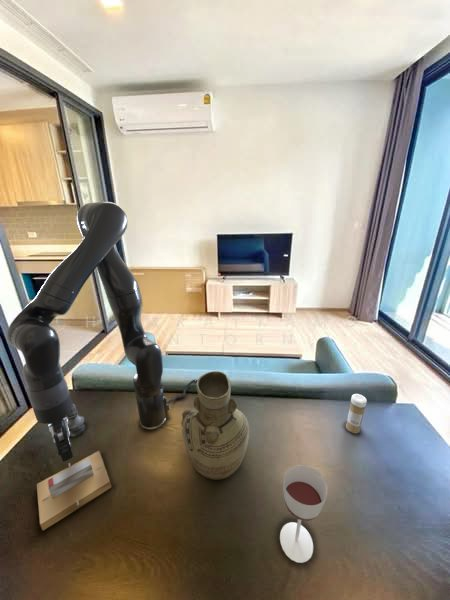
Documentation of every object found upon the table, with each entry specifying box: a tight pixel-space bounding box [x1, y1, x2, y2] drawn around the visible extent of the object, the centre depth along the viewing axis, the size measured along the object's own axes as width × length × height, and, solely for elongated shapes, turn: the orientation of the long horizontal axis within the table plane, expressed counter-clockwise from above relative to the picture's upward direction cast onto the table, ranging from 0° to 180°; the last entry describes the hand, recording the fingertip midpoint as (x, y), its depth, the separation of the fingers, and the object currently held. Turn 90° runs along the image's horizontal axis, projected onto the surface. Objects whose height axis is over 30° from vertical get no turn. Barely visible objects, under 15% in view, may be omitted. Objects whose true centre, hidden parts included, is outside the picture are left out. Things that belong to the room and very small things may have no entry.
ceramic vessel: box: [181, 370, 250, 481], centre depth 73 cm, size 19×21×30 cm
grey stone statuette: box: [66, 403, 86, 437], centre depth 86 cm, size 6×6×12 cm
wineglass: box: [279, 464, 328, 564], centre depth 55 cm, size 8×9×20 cm
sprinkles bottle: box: [345, 393, 368, 434], centre depth 85 cm, size 5×5×13 cm
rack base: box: [36, 450, 112, 531], centre depth 69 cm, size 16×14×3 cm
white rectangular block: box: [48, 458, 94, 499], centre depth 68 cm, size 10×2×4 cm, turn 129°
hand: (65, 446), depth 65 cm, fingers open, 8 cm apart
